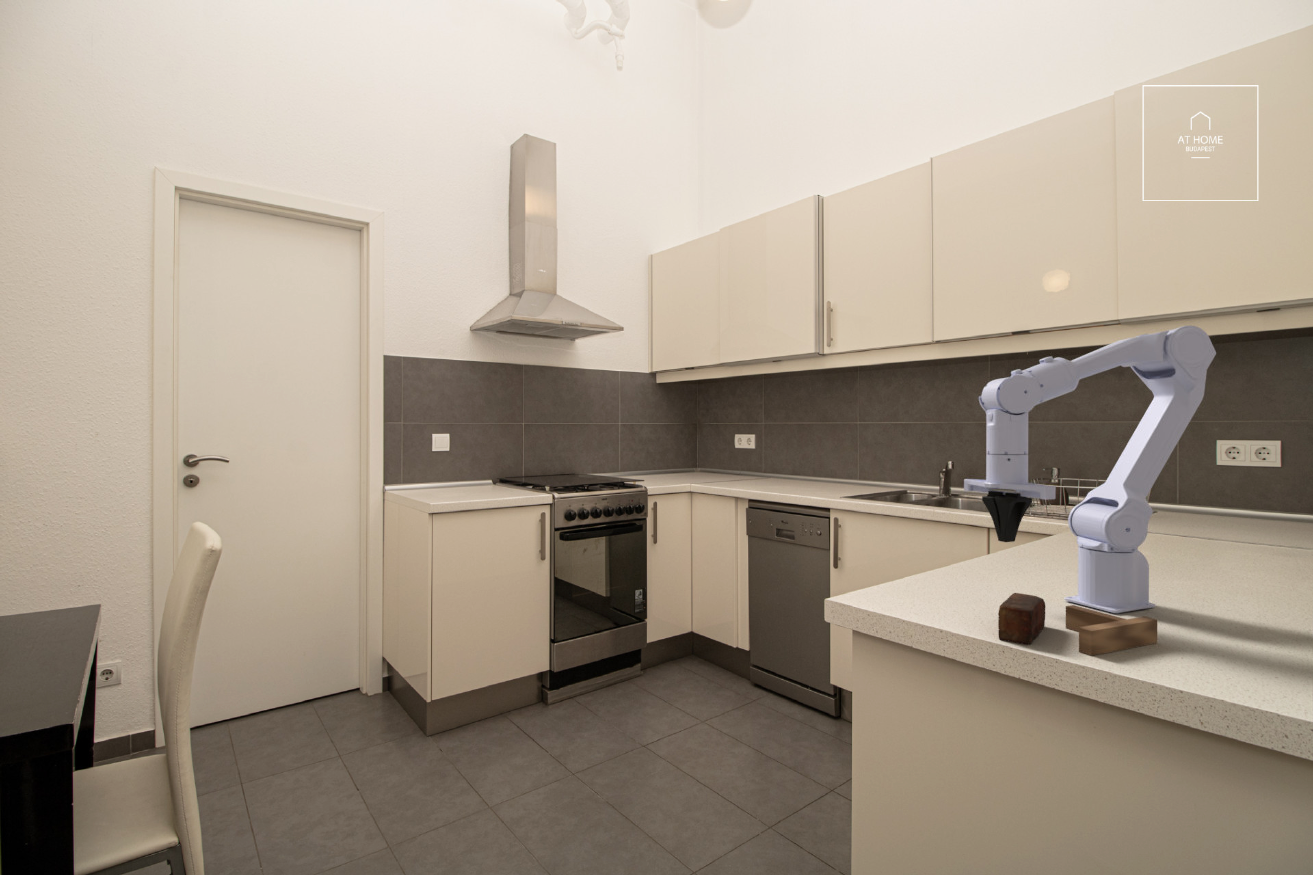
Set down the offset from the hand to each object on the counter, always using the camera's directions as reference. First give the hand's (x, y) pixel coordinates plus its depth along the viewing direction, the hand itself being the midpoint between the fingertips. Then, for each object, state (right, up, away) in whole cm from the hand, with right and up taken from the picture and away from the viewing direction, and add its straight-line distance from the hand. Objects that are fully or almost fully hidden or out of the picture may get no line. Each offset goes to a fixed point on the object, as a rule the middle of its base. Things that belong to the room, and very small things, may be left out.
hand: (1006, 541), depth 98 cm
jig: (+2, -10, -16) cm, 19 cm away
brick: (-5, -11, -14) cm, 18 cm away
